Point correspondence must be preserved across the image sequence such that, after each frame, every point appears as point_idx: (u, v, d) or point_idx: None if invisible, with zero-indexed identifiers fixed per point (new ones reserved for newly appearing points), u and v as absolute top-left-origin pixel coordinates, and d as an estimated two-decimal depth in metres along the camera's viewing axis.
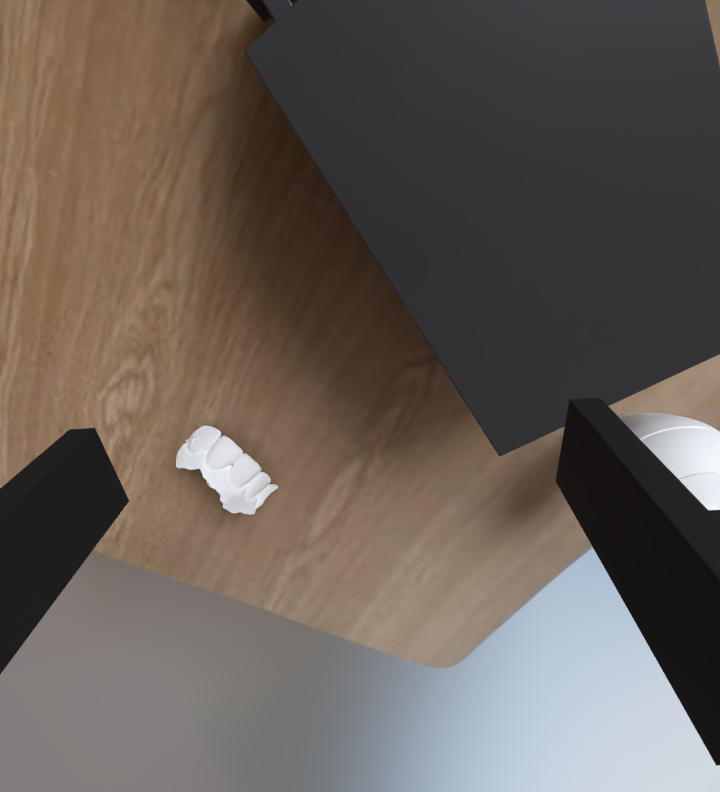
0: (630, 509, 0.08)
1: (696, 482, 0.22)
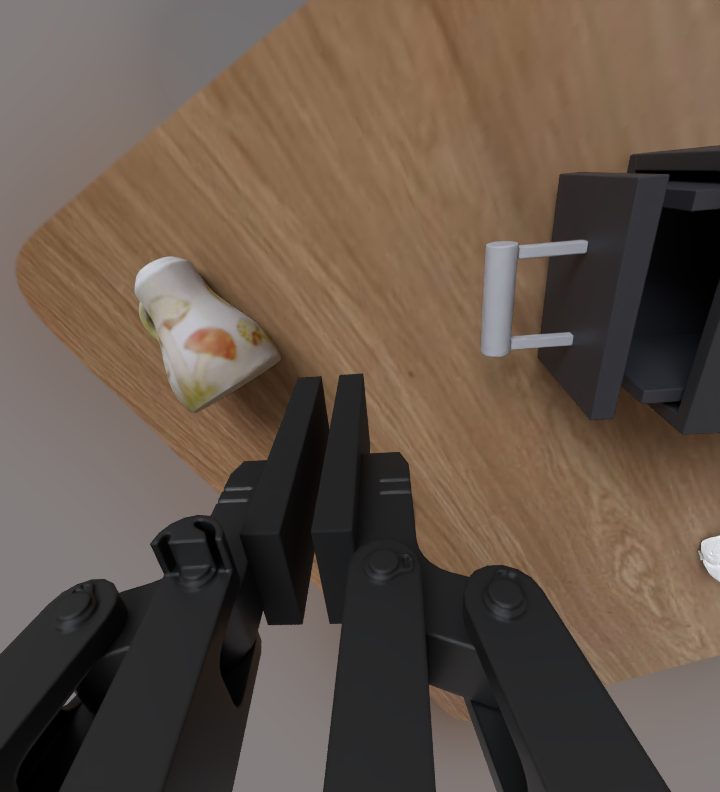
0: None
1: None
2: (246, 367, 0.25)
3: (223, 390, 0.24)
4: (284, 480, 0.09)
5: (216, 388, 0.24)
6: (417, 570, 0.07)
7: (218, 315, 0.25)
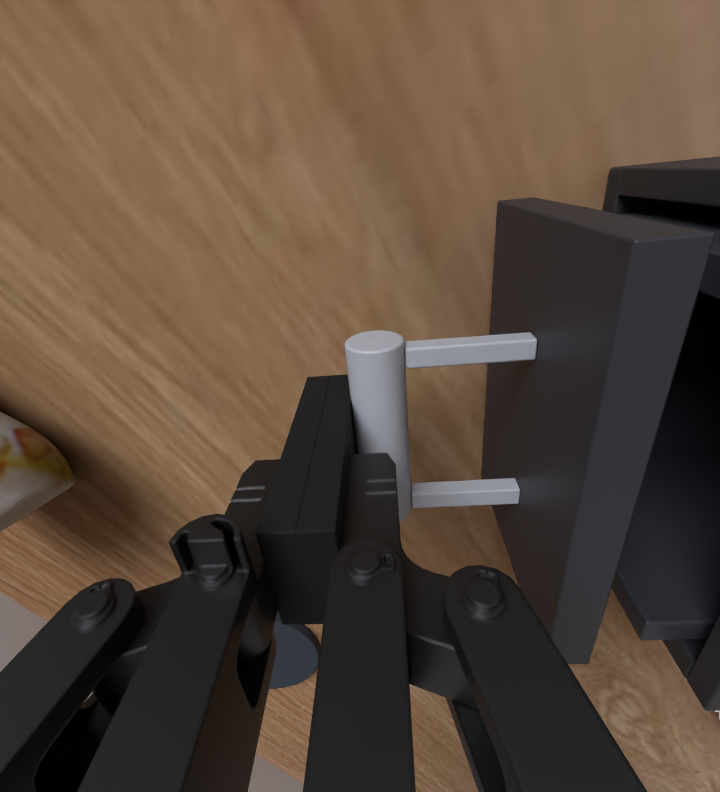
0: None
1: None
2: None
3: None
4: (298, 479, 0.09)
5: None
6: (398, 570, 0.07)
7: None
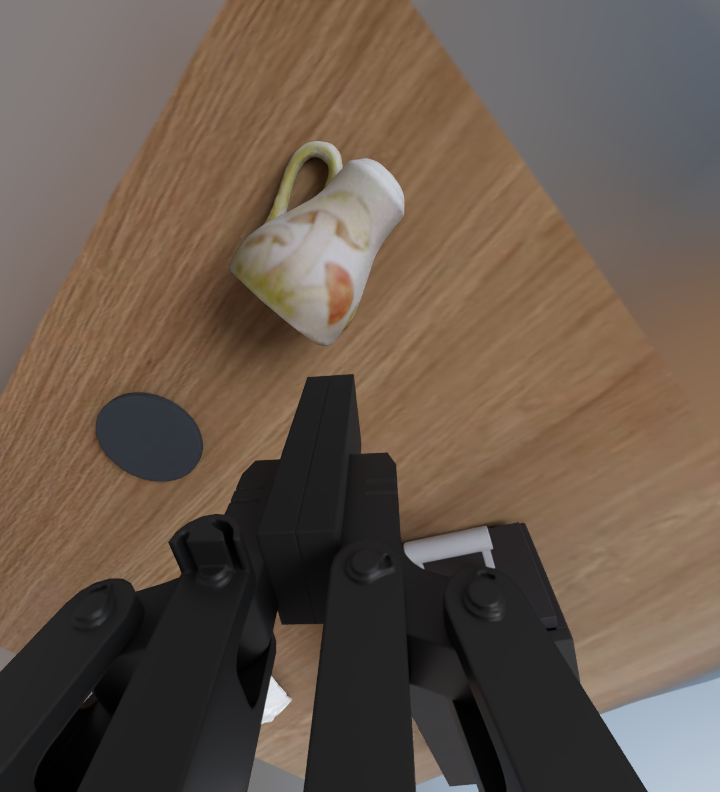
0: None
1: None
2: (322, 337, 0.22)
3: (292, 324, 0.21)
4: (298, 479, 0.09)
5: (293, 317, 0.20)
6: (399, 569, 0.07)
7: (362, 282, 0.22)
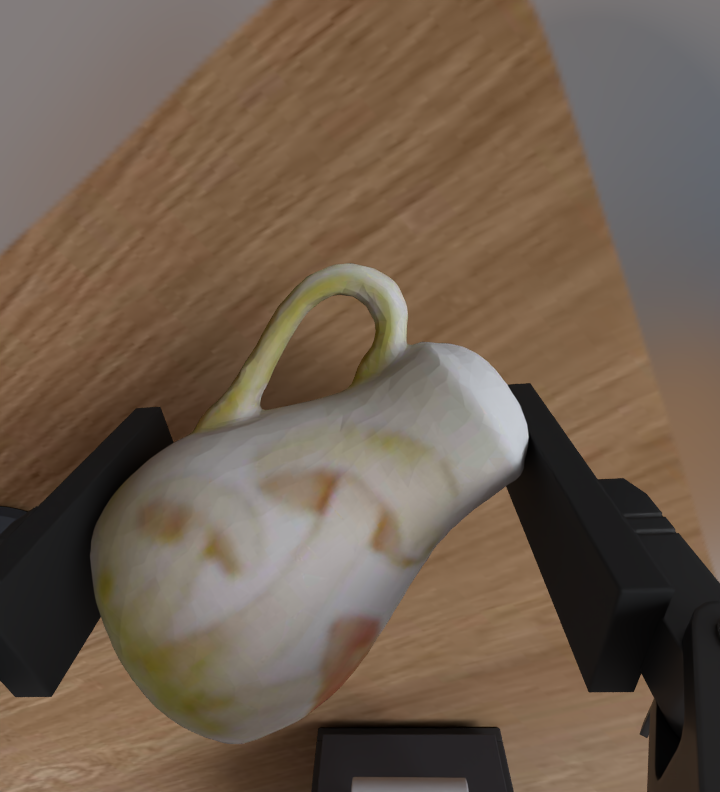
0: (538, 479, 0.09)
1: None
2: None
3: (215, 738, 0.08)
4: (32, 538, 0.08)
5: (220, 735, 0.08)
6: None
7: None
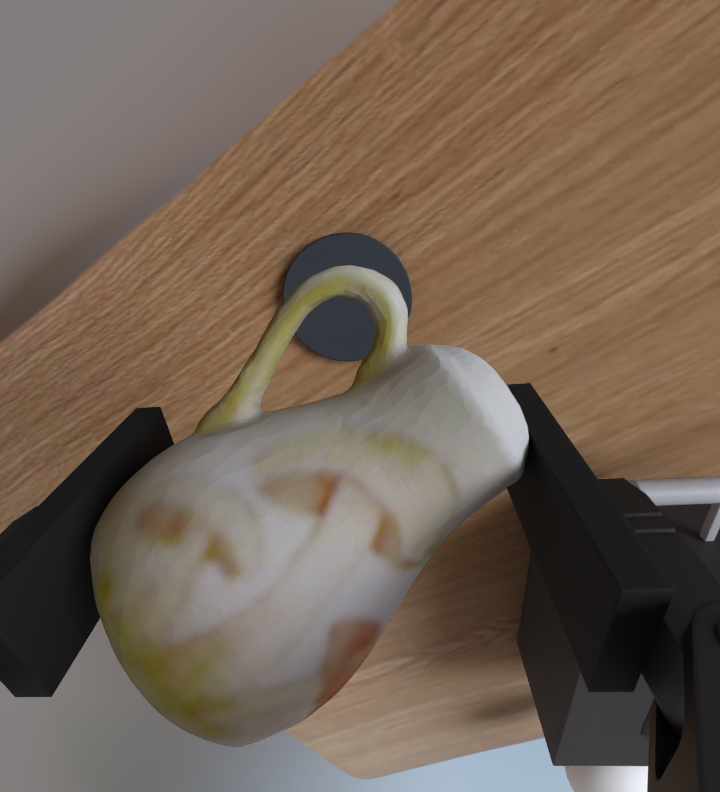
0: (538, 479, 0.09)
1: None
2: None
3: (215, 741, 0.08)
4: (32, 537, 0.08)
5: (220, 737, 0.08)
6: None
7: None
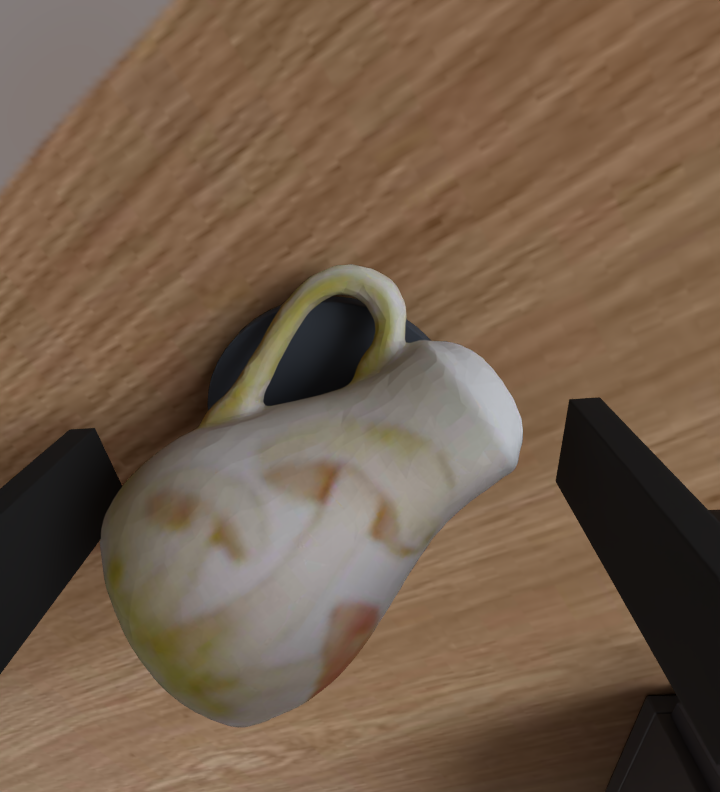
0: (630, 509, 0.08)
1: None
2: None
3: (220, 720, 0.09)
4: None
5: (225, 716, 0.08)
6: None
7: None
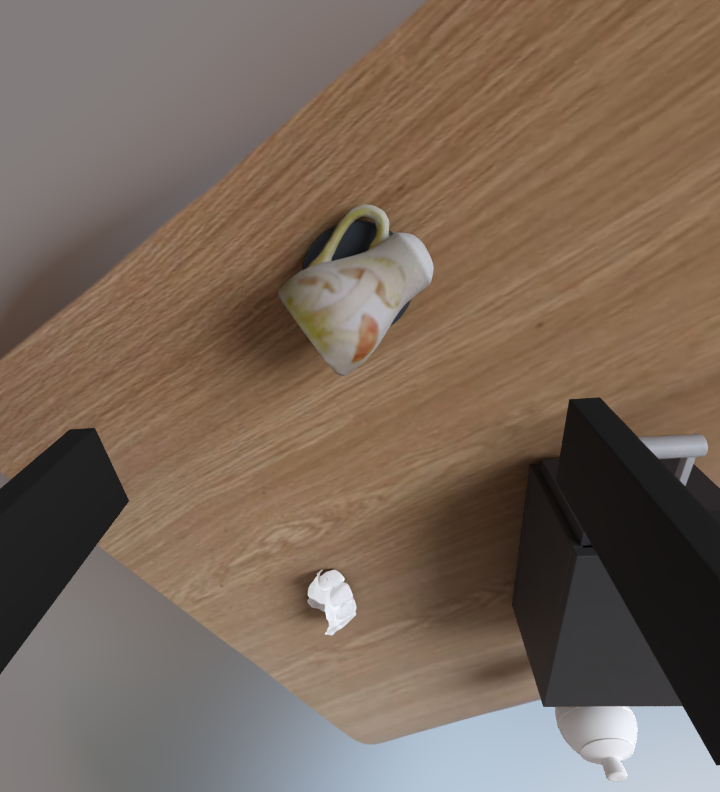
0: (630, 509, 0.08)
1: (617, 743, 0.40)
2: (343, 370, 0.26)
3: (323, 356, 0.25)
4: None
5: (326, 351, 0.24)
6: None
7: (385, 332, 0.27)
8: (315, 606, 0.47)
